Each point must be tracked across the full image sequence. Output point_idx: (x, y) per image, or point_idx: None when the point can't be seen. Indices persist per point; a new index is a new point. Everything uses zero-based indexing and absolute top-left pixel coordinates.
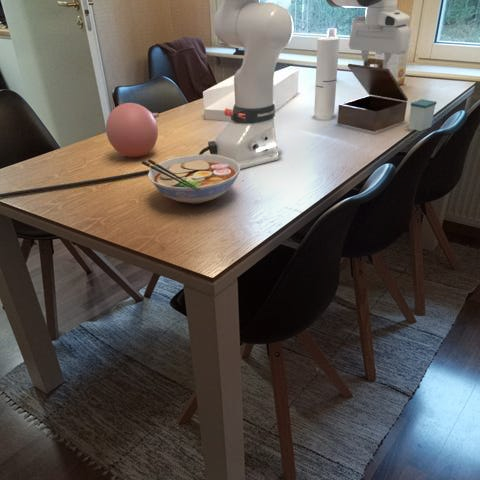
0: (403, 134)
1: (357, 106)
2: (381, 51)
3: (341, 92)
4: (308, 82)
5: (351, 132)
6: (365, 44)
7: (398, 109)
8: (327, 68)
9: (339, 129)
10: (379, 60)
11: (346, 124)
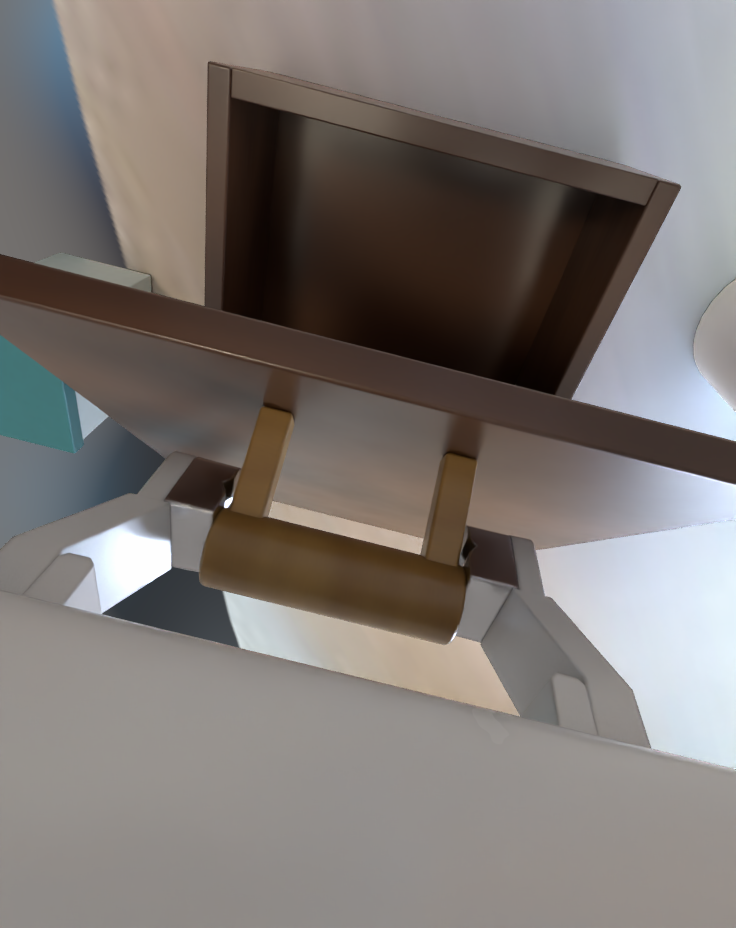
0: (119, 181)
1: None
2: (62, 620)
3: (726, 733)
4: None
5: (449, 18)
6: (581, 887)
7: None
8: None
9: (576, 54)
10: (243, 559)
11: (538, 142)
